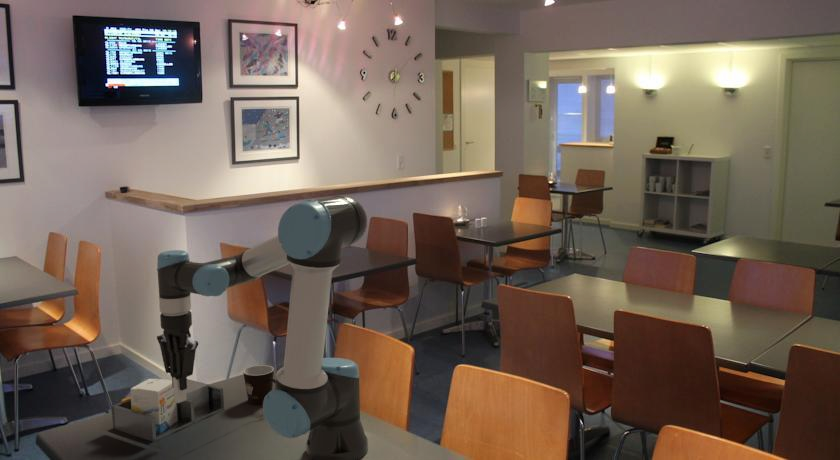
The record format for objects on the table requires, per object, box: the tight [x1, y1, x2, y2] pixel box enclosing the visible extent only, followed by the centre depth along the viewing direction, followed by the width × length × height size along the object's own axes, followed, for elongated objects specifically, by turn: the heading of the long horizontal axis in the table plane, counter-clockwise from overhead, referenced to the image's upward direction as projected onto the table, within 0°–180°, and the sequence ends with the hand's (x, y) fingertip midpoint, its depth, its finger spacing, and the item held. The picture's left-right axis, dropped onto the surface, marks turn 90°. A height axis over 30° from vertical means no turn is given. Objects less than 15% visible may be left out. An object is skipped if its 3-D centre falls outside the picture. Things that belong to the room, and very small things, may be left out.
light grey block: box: [186, 379, 209, 415], centre depth 205 cm, size 8×8×7 cm
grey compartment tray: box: [111, 378, 225, 443], centre depth 200 cm, size 16×24×8 cm
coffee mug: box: [242, 364, 276, 406], centre depth 210 cm, size 12×9×10 cm
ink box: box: [130, 378, 178, 434], centre depth 195 cm, size 9×8×12 cm
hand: (180, 400), depth 189 cm, fingers closed
